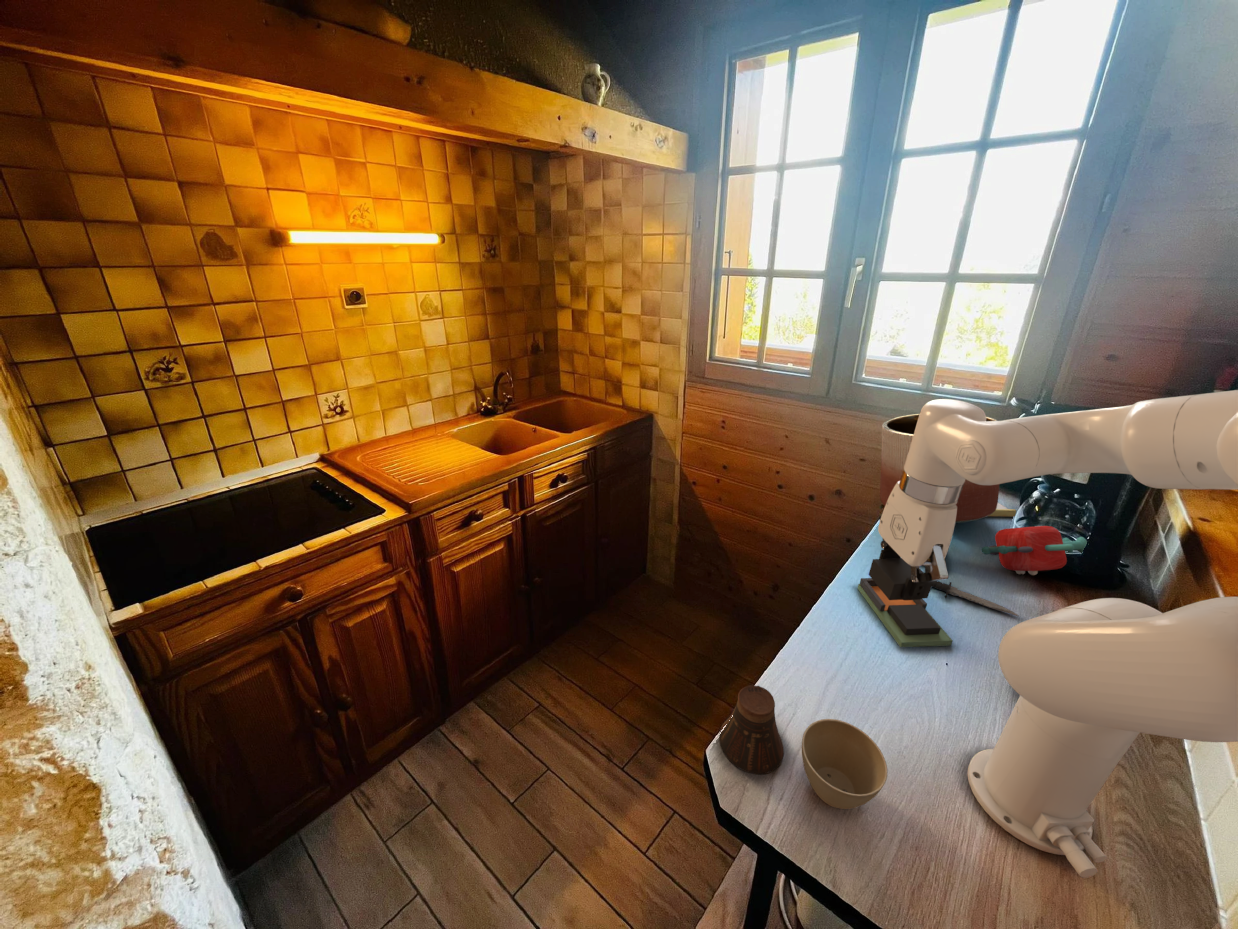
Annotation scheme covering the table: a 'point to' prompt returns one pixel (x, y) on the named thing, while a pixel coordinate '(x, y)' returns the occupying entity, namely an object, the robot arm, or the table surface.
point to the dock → (908, 639)
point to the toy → (1033, 549)
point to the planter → (894, 454)
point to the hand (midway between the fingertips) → (898, 582)
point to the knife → (969, 596)
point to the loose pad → (893, 577)
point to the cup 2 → (753, 732)
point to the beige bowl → (842, 763)
